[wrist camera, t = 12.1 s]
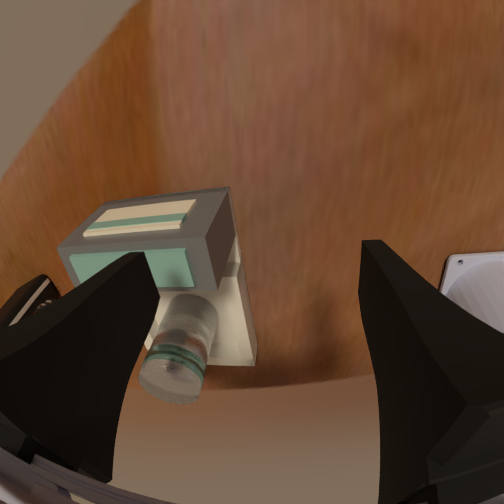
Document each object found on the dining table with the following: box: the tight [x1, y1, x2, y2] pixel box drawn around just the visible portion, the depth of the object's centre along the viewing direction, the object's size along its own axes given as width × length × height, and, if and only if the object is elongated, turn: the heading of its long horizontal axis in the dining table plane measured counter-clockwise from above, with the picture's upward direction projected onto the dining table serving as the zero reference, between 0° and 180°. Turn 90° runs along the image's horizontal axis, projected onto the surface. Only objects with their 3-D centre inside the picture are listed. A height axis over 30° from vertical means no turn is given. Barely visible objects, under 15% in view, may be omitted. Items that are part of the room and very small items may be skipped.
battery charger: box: [0, 274, 58, 330], centre depth 22 cm, size 7×4×11 cm, turn 116°
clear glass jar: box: [138, 294, 218, 404], centre depth 21 cm, size 4×4×7 cm
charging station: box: [57, 187, 258, 366], centre depth 21 cm, size 9×14×6 cm, turn 7°
